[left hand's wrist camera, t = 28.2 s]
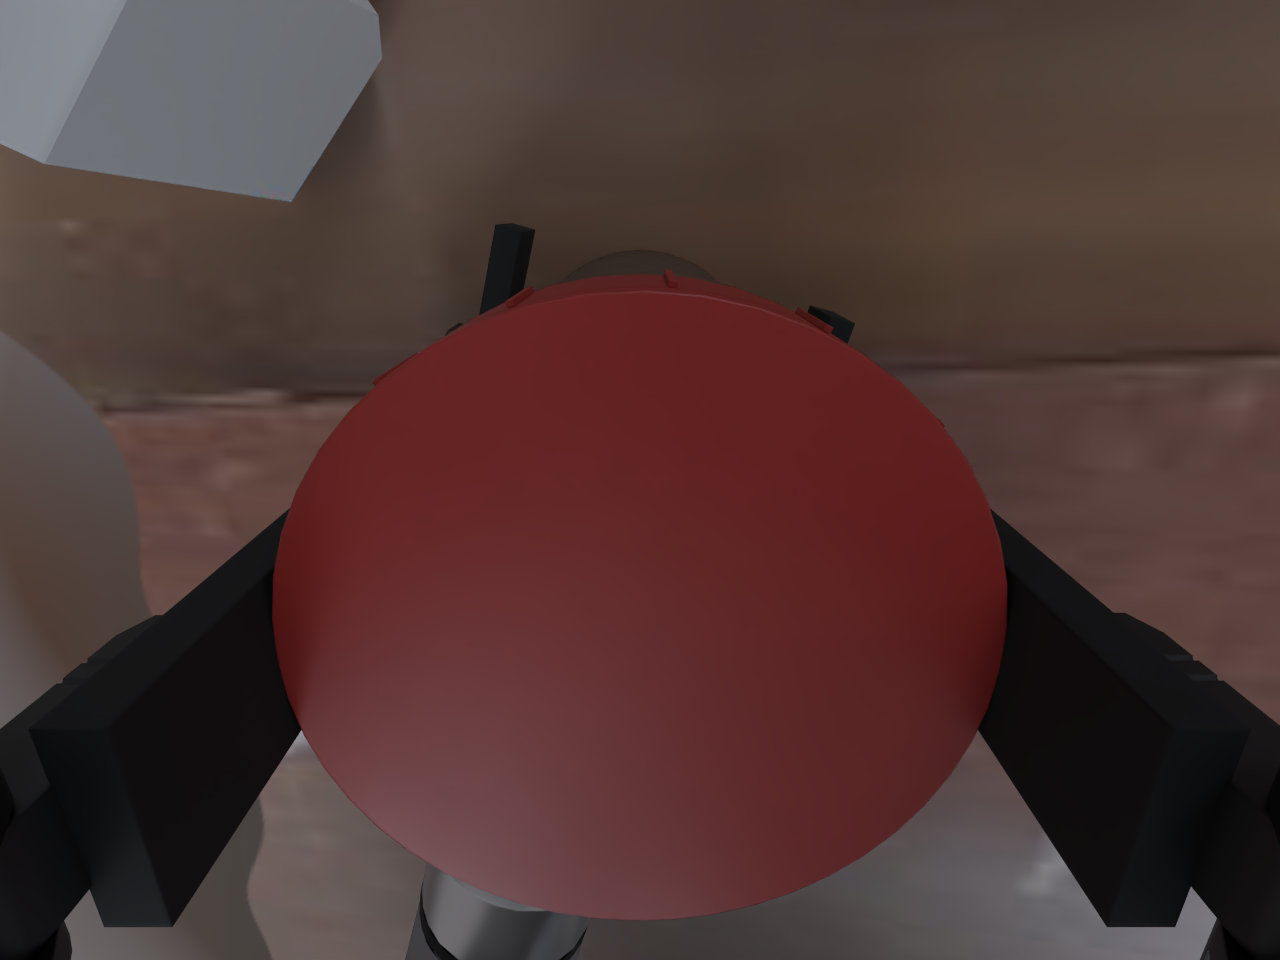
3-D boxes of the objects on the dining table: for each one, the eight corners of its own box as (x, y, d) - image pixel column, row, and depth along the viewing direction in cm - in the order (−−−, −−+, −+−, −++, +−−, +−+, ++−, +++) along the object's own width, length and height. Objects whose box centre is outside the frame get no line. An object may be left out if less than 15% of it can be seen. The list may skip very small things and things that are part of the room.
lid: (577, 114, 10) (558, 83, 7) (1068, 538, 12) (1166, 612, 10) (231, 625, 12) (144, 713, 10) (680, 886, 15) (687, 1004, 13)
